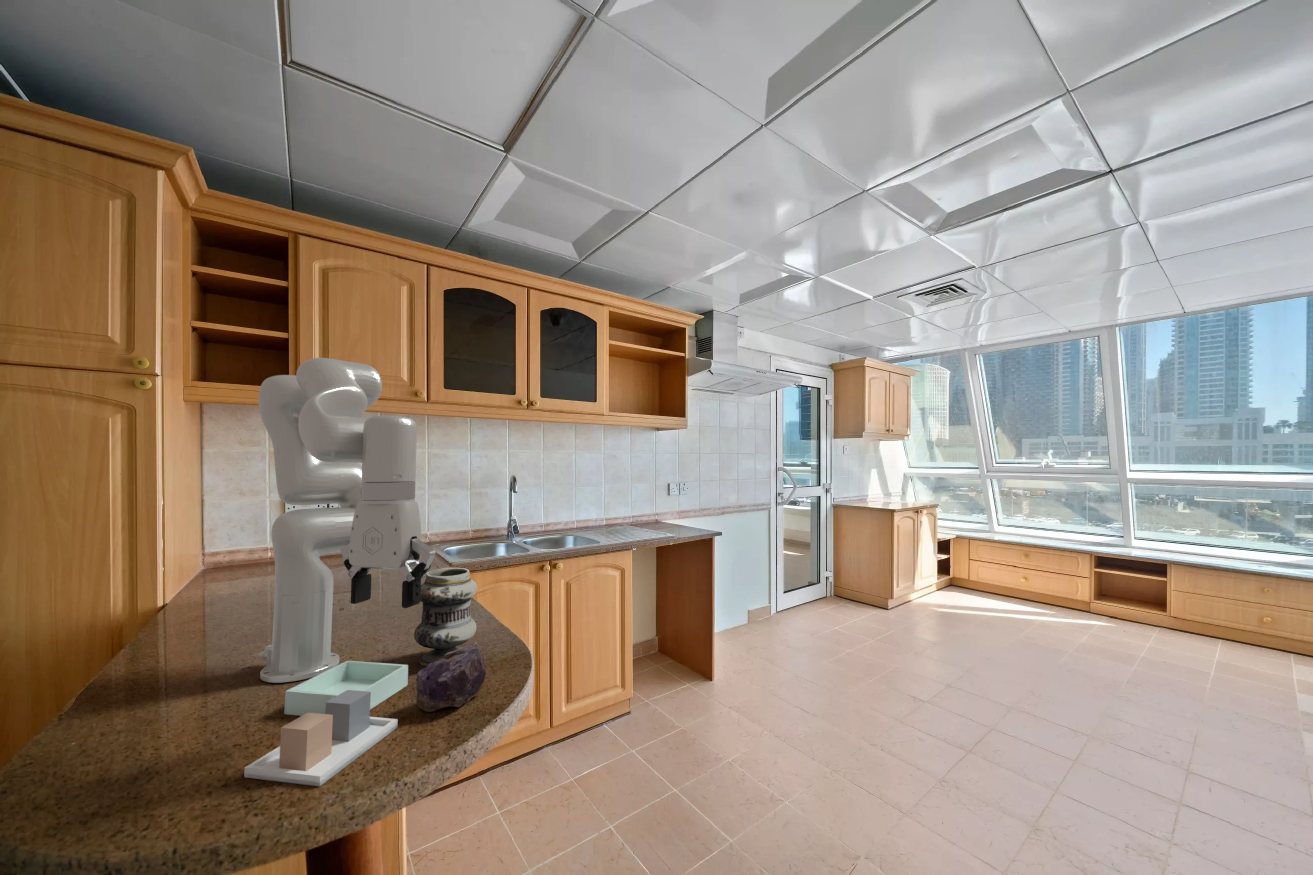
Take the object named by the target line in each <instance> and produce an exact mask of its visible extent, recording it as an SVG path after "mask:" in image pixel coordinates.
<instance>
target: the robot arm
mask: <svg viewBox="0 0 1313 875" xmlns="http://www.w3.org/2000/svg"><path fill="white" fill-rule="evenodd" d="M295 374H296V375H293V374H278V375H277V374H276V375H272V376H270V377H267V378H265V379H264V380H263V381H262V383H261V384H260V387H259V391H258V409H259V413H260V417H261V420H262V423H263V425H264V427H265V430H266V432H267V434H268V436H269V437H270V441H271V443H272V448H273V460H274V470H275V471H274V472H275V473H274V474H275V481H276V483H275V484H276V488H277V493H278V494H277V495H278V498H279V499H280V501H281V502H283V503H284V504H286V505H291V506H314V505H317V506H318V505H332V504H333V505H334V504H335V505H339V507H316V508H315V507H313V508H301V509H294V510H290V511H286V512H284V513H282V514H281V515H279V516H277V518H276V519H275V520H274V521H273V524H272V525H271V531H270V534H271V545H272V550H273V557H274V558H273V559H274V598H273V600H274V602H273V617H272V618H273V620H272V621H273V622H272V636H271V637H272V639H271V644H268V645H266V646H265V648H264V650H263V651H262V650H261V651H260V652H259V653H258V654H257V658H258V659H259V660H260V659H261V660H262V659H263V660H266V665H265V666H264V667H263V668H262V669H260V670H261V671H260V672H259V674H260V675H259V678H260V680H261V681H263V682H265V683H270V684H271V683H273V684H279V683H280V684H281V683H291V682H296V681H297V682H298V681H302V680H307V679H311V678H313V677H315V676H317V675H319V674H321V673H323V672H325V671H327V670H329V669H331V668H333V667H336V666H338V665H339V664H340V655H339V654H337V653H335V652H331V647H332V629H333V628H332V627H333V626H332V625H333V624H332V623H333V604H334V601H333V600H334V575H333V573H332V571H331V569H330V568H329V567H328V566H327V565H326V564H325V563H324V562H323V561H322V560H321V557H322V556H326V555H331V554H332V555H333V554H338V553H339V554H340V553H341V556H342V559H343V565H344V567H345V568H346V570H347V571H348V572H347V576H348V578H350V581H351V582H350V583H351V584H350V604H352V605H353V604H354V605H355V604H359V603H362V602H365V601H369V600H371V598H372V573H369V572H370V570H372V569H376V570H377V569H378V570H379V569H380V570H381V569H382V570H396V569H399V571H400V573H401V574H402V575H403V577H404V578H405V580H403V581H402V584H401V607H402V608H403V609H408V608H411V607H413V606H417V605H418V604H419V605H420V604H421V585H422V579H423V578H424V577H426V574H427V573H428V572H429V570H430V569H431V567H432V563H433V561H434V559H435V557H436V554H437V553H436V550H435V549H433V548H432V547H431V546H429V545H427V544H426V543H425V542H423V541H422V525H421V524H422V523H421V516H420V510H419V505H418V504H419V503H418V501H416V479H417V478H416V477H417V476H416V475H417V474H416V473H417V472H416V471H417V442H418V441H417V440H418V439H417V438H418V436H417V434H418V433H417V432H418V431H417V428H418V427H417V423H416V422H415V420H414V419H413V418H410V417H407V416H401V415H390V414H389V415H387V414H386V415H382V414H381V415H372V416H369V417H362V416H363V414H364V413H365V412H366V410H367V409H369V408H371V406H373V405H374V404H375V403H376V402H377V401H378V400H379V399H380V397H381V395H382V390H383V380H382V377H381V374H380V373H379V371H377V369H375V368H374V367H373V366H371V365H369V364H365V363H360V362H354V361H348V360H340V359H336V358H330V357H314V358H310V359H307V360H305V361H303V362H302V363H301V364H300V365H299V366H298V368H297V370H296V373H295ZM360 463H362V464H360Z"/></svg>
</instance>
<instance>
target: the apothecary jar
mask: <svg viewBox="0 0 1313 875" xmlns="http://www.w3.org/2000/svg"><path fill="white" fill-rule="evenodd" d="M477 592H478V585H477V582H476V581H475V580H473V579H472V578H471V574H470V570H469V569H468V568H464V567H443V568H438V569H433V570H430V571H427V572H426V573H425V580H424V582H423V583H421V601H420V603H422V611H421V612H422V613H421V614H422V615H421V621H420V623H419V624H418V625H417V626H416V628H415V630H414V634H413V637H414V640H415V642H416V643H417V644H418V645H419V646H421V647H422V648H423V647H424V648H427V649H432V650H430V651H428V652H426V653H424V654H423V655H421V657H420V658H419V660H418V663H419V664H420V665H421V666H422V667H425V668H426V667H427V666H428V665H429V664H430V663H433V662H435V661H436V660H438V659H439V658H441V657H443V656H444V655H445V654H446V653H448V652H453V651H456V650H458V649H461V648H462V647H461V646H460V645H463V644H465V643H466V642H468V641H470V640H471V639H472V637H473V636H474V635H475V634H476V631H477V628H478V627H477V623H476V621H475V620H474V619H473V618H472V614H471V613H472V612H471V610H472V609H471V608H472V607H471V605H472V598H473V597H474V596H475V595H476V593H477Z"/></svg>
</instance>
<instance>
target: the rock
mask: <svg viewBox="0 0 1313 875" xmlns="http://www.w3.org/2000/svg"><path fill="white" fill-rule="evenodd" d="M486 674H487V671H486V667H485V658H484V657H483V655H482V653H481V650H480V647H479V644H478V642H477V641H475V642H472V643H469V644H468V645H465V646H463V647H461V649H458V650H456V651H453V652H448V653H446V654H445V655H444V656H443V657H441V658H439V659H438V660H436V661H435V662H433V663H430V664H429V665H428V666H427V667H426V666H425V667H424V668H421V669H420V670H418V671H417V674H416V679H415V681H416V689H415V690H416V698H415V700H416V704H417V705H418V707H419V709H420V710H423V711H424V712H427V713H431V712H435V711H437V710H441V709H443V708H448V707H452V708H454V707H456V708H460V707H462V706H463V705H466V704H468V703H470V701H471V699H474V697H475V696H476V695H477V694H478V693H480V692H481V690H482V689H483V683H484V681H485V677H486Z"/></svg>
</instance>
